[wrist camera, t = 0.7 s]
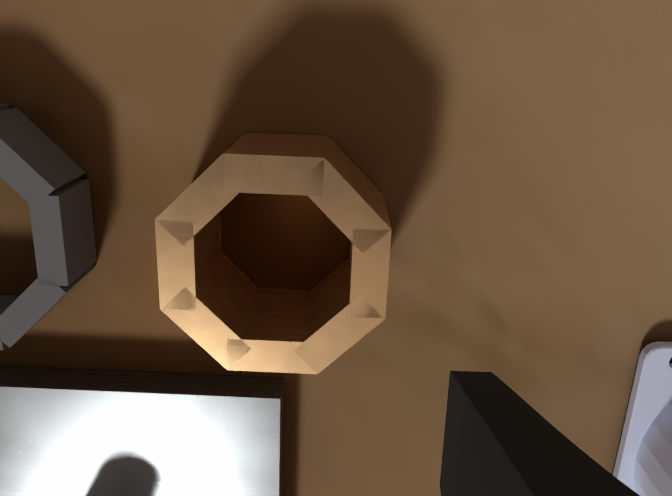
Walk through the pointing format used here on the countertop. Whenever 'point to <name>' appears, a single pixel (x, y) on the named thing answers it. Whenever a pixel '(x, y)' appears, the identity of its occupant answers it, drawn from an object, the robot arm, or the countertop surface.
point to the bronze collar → (270, 303)
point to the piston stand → (139, 433)
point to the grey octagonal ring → (45, 220)
